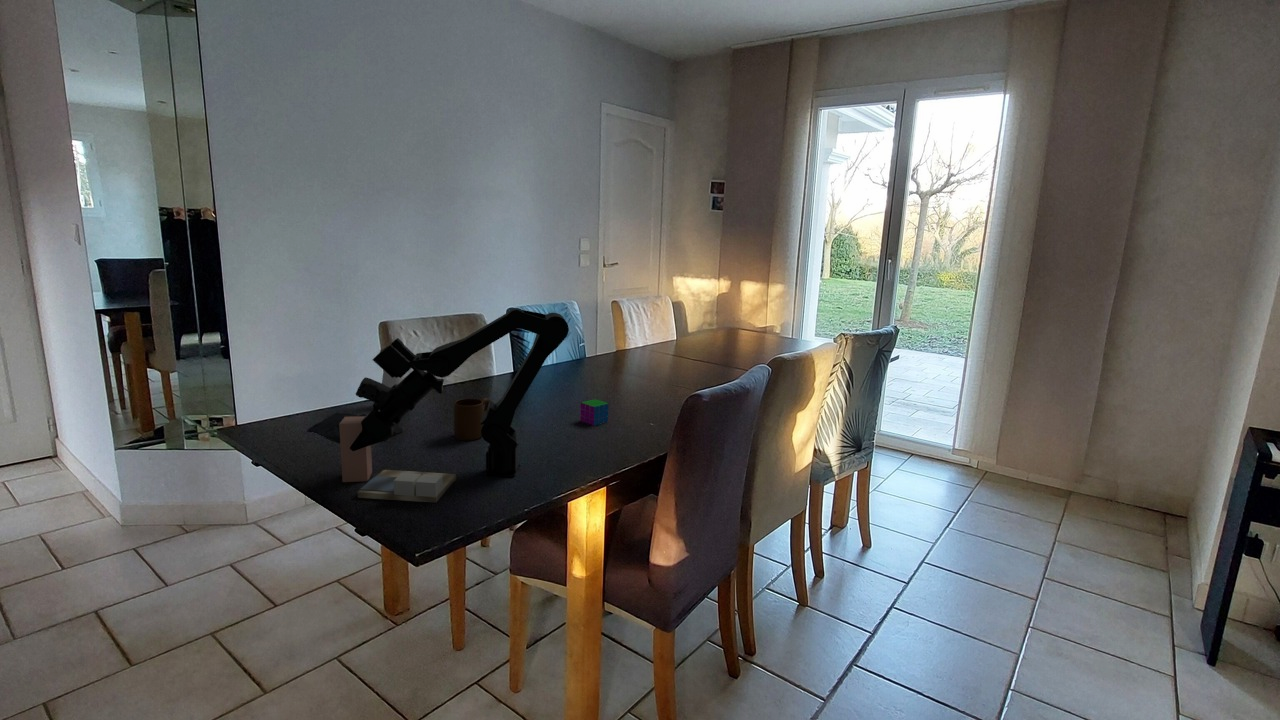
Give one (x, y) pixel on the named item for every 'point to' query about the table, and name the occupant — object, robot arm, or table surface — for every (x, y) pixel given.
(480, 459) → the table surface
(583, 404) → the puzzle toy
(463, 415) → the mug
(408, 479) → the built blocks
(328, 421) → the dark slate chunk
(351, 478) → the tower block
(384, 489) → the board
